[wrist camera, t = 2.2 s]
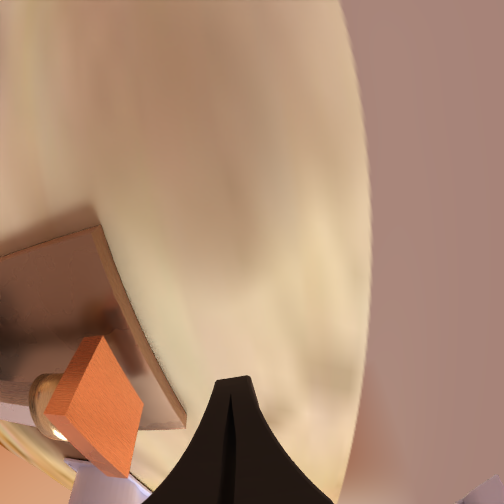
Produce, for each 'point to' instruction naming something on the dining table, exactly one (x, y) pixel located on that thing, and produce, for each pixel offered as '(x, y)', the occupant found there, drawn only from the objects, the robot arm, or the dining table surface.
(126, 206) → the dining table surface
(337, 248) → the dining table surface
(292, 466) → the robot arm
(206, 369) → the dining table surface
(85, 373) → the shaft
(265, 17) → the dining table surface
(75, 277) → the bearing base
